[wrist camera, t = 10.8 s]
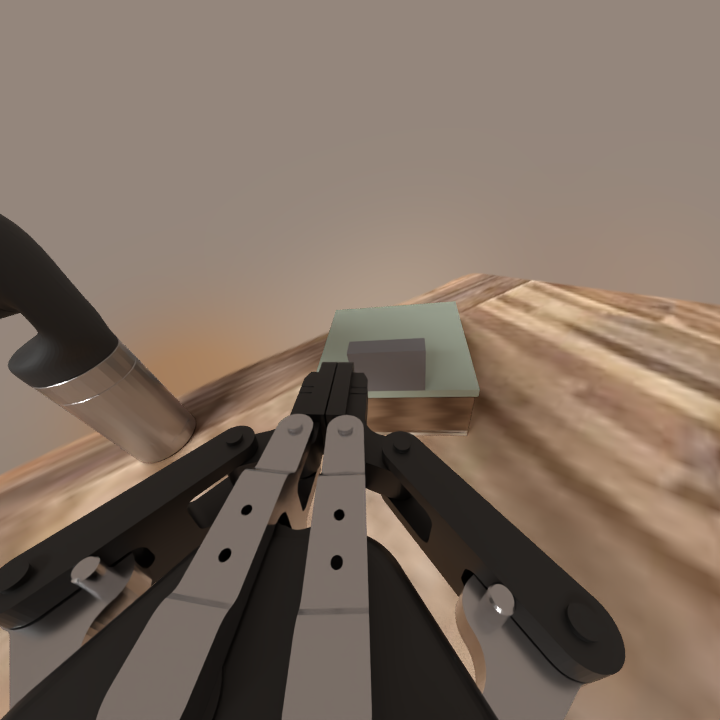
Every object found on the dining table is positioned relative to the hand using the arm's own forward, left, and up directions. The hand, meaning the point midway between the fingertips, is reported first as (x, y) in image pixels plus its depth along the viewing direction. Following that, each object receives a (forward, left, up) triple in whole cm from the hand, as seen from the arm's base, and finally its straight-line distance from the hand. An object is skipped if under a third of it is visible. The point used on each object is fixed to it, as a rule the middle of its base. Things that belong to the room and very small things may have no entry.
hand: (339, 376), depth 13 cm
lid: (+1, +21, -16) cm, 26 cm away
